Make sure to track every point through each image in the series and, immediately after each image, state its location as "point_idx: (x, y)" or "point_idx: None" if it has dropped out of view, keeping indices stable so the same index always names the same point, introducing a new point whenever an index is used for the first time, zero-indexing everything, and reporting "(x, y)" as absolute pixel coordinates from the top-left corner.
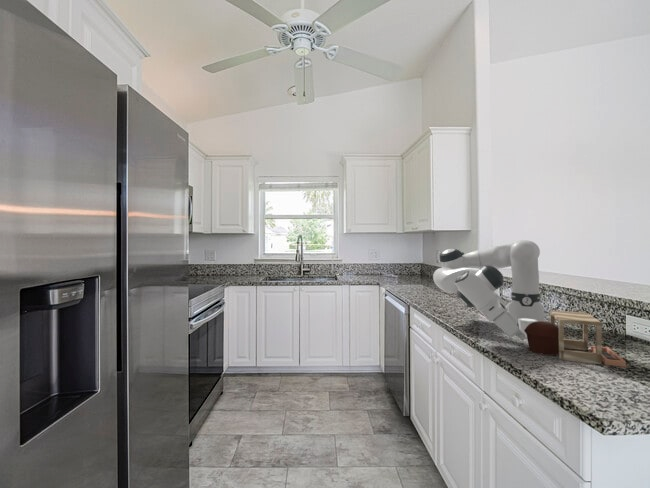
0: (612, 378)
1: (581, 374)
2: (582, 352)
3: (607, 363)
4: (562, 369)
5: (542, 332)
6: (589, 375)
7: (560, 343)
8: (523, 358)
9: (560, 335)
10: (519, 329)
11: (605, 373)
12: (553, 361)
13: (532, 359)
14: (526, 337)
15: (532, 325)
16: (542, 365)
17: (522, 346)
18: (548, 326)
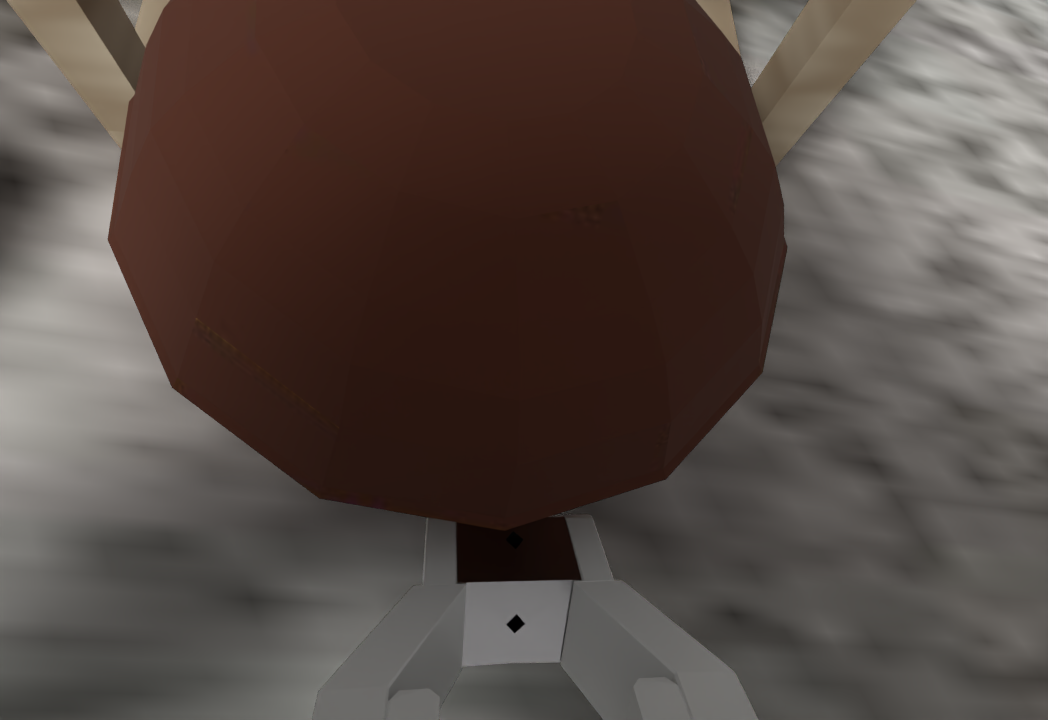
0: (969, 40)
1: (1022, 183)
2: (727, 12)
3: None
4: (996, 279)
5: (781, 206)
6: (1006, 142)
7: (812, 110)
8: (888, 585)
9: (893, 10)
10: (421, 641)
11: (889, 41)
12: (809, 301)
13: (864, 489)
14: None
15: (651, 302)
16: (1000, 419)
17: (311, 554)
18: (694, 2)
